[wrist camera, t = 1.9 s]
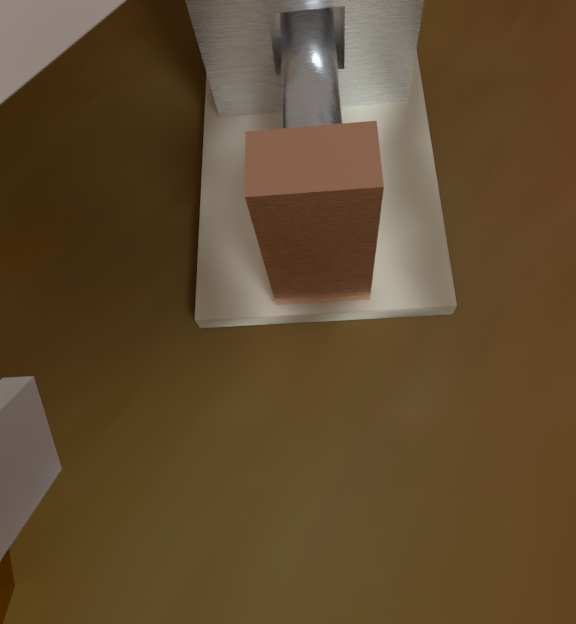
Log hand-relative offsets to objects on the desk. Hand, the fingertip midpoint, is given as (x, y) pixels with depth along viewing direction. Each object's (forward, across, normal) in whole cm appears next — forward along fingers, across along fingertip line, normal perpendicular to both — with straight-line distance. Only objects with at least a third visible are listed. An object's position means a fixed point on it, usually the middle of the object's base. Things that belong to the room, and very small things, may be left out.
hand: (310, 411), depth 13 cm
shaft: (+22, 0, +3) cm, 22 cm away
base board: (+24, 0, +3) cm, 25 cm away
